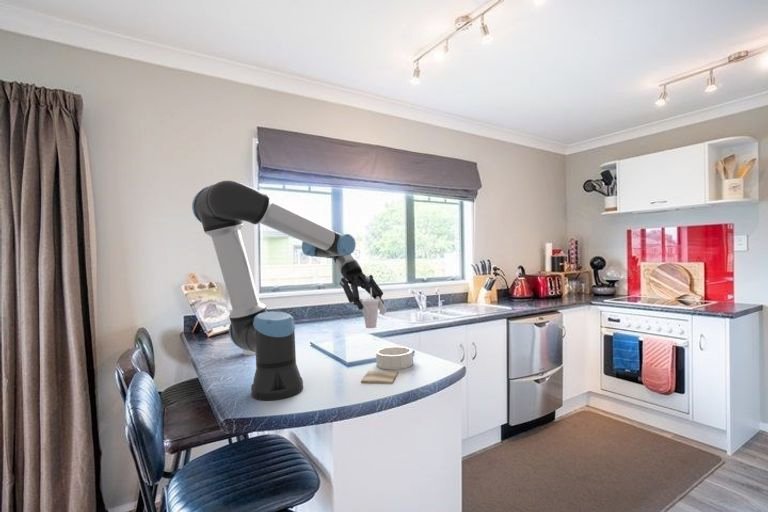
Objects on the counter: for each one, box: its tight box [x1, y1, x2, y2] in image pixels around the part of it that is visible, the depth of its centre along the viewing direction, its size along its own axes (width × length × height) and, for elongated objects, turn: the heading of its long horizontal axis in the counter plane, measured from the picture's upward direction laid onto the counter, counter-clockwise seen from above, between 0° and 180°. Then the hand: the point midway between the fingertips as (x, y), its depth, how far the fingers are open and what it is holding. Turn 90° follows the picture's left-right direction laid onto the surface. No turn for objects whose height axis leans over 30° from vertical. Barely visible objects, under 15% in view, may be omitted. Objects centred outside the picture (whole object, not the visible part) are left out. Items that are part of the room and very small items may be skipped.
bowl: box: [375, 345, 414, 371], centre depth 137 cm, size 13×13×5 cm
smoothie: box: [363, 288, 379, 329], centre depth 135 cm, size 6×6×14 cm
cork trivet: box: [360, 370, 399, 385], centre depth 123 cm, size 10×10×1 cm
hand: (376, 314), depth 133 cm, fingers closed on smoothie, 6 cm apart
